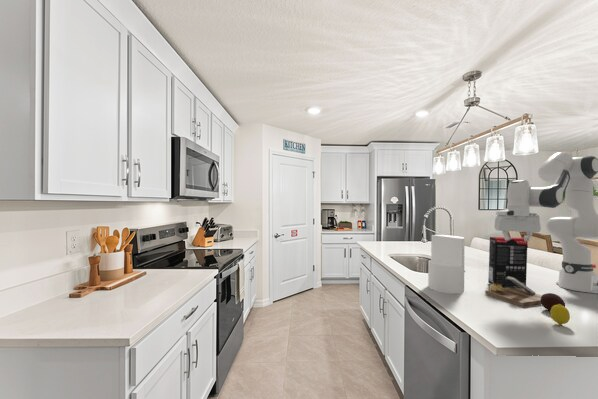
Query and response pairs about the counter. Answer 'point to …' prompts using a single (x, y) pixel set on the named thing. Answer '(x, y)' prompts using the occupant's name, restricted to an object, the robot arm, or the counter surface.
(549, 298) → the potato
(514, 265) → the graphics card box
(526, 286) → the bar
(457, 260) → the cylinder
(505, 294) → the brown square board
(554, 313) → the lemon
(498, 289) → the block
